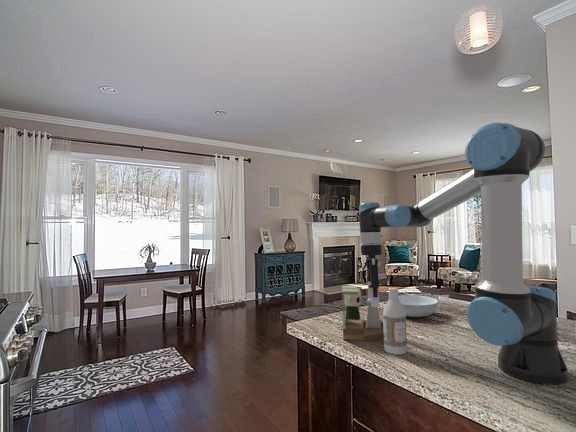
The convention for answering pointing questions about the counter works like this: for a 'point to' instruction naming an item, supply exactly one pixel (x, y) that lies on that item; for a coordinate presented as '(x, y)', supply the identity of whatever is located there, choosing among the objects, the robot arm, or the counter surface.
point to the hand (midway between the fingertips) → (373, 302)
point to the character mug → (353, 306)
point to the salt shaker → (373, 316)
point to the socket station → (358, 323)
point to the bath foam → (394, 325)
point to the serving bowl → (418, 305)
